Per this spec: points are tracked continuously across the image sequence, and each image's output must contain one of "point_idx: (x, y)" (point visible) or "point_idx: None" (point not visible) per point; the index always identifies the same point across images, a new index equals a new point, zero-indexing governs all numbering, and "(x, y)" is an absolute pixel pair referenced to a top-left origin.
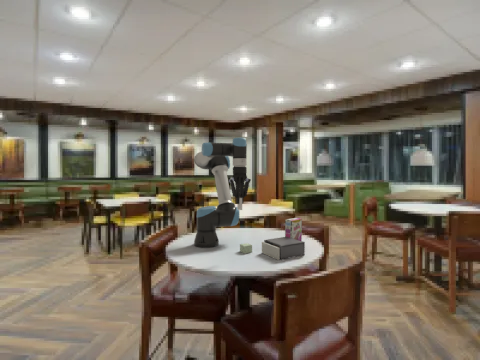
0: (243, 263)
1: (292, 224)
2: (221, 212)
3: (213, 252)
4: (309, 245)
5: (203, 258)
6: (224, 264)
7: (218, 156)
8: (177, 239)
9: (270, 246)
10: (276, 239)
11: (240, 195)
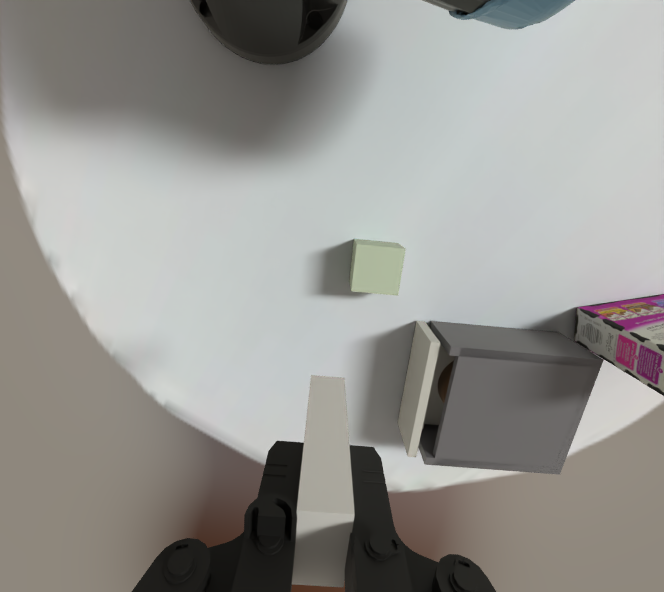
0: (267, 382)
1: None
2: None
3: (230, 174)
4: None
5: (149, 235)
6: (198, 352)
7: None
8: None
9: (415, 406)
10: (507, 373)
11: (361, 582)
